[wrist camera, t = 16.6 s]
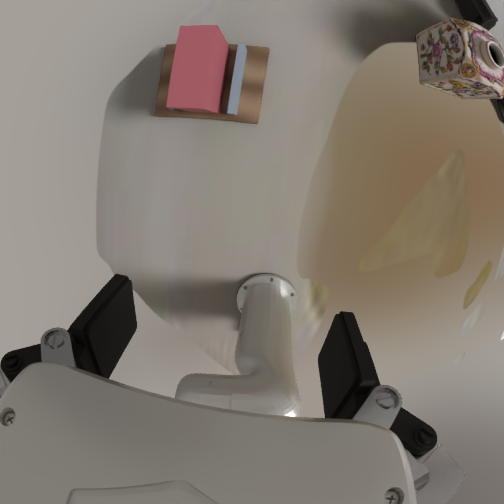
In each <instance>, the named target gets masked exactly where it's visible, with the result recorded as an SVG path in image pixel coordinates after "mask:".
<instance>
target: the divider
mask: <svg viewBox="0 0 504 504" xmlns="http://www.w3.org/2000/svg"><path fill="white" fill-rule="evenodd" d="M246 55H247V48H246V45H245V44H243V43H238V48H237V54H236V60H235V66H234V72H233V78H232V84H231V91H230V97H229V104H228V111H227V113H228V114H230V115H237V112H238V105H239V98H240V92H241V85H242V79H243V73H244V67H245V61H246Z"/></svg>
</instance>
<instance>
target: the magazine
mask: <svg viewBox="0 0 504 504" xmlns="http://www.w3.org/2000/svg"><path fill="white" fill-rule="evenodd" d="M455 1H456V3H457V5H458V7H459V9H460V11H461V13H462V15H463V16H464V18H465V20H466V21H470V22H474V23H476V24H478V25H480V26H482V27H483V28H485V29H486V30H488V31H489V30H490V29H491V28H492V27H494V26H495V24H496V22H497V21H498V19H497V18H496V16H495V15H494V13H493V12H492V10H491V8H490V7H489V5H488V3H487V2H486V0H455Z"/></svg>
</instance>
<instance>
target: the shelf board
mask: <svg viewBox="0 0 504 504" xmlns="http://www.w3.org/2000/svg"><path fill="white" fill-rule="evenodd" d="M228 45H229V47H230V49H231V53H230V59H229V65H228V71H227V77H226V83H225V90H224V96H223V103H222V110H221V114H213V113H199V112H189V111H184V110H182V111H173V110H168V109H169V108H167V107H166V105H167V97H168V90H169V84H170V77H171V71H172V65H173V60H174V54H175V49H176V44H170V45H166V49H165V54H164V60H163V65H162V71H161V77H160V83H159V90H158V97H157V105H156V113H155V116H165V117H191V118H207V119H219V120H229V121H238V122H247V123H254V124H258V119H259V112H260V106H261V99H262V93H263V87H264V80H265V74H266V68H267V62H268V55H269V48H266V47H257V46H246V48H247V55H246V61H245V67H244V73H243V79H242V85H241V92H240V98H239V105H238V112H237V115H230V114H228V113H227V111H228V104H229V97H230V91H231V84H232V78H233V72H234V66H235V60H236V54H237V48H238V45H232V44H228Z"/></svg>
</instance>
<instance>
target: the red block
mask: <svg viewBox="0 0 504 504" xmlns="http://www.w3.org/2000/svg"><path fill="white" fill-rule="evenodd" d="M230 53H231V49H230V47H229V45H228V43H227V41H226V39H225V38H224V36H223V34H222V32H221V31H220V29H219V27H218V26H217V25H201V26H180V30H179V35H178V39H177V44H176V49H175V54H174V60H173V65H172V71H171V77H170V84H169V90H168V97H167V105H166V107H167V108H173V109H178V110H184V111H189V112H199V113H213V114H221V110H222V103H223V96H224V90H225V83H226V77H227V71H228V65H229V59H230Z"/></svg>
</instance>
